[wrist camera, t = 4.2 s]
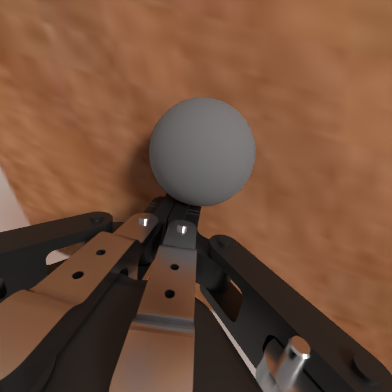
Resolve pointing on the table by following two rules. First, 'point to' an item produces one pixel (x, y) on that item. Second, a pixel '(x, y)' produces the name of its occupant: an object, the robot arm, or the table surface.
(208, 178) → the grey ball
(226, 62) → the table surface
